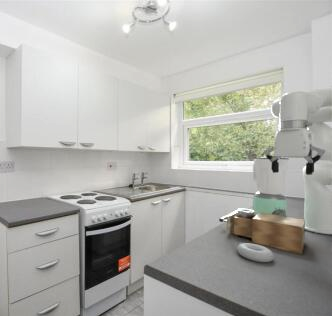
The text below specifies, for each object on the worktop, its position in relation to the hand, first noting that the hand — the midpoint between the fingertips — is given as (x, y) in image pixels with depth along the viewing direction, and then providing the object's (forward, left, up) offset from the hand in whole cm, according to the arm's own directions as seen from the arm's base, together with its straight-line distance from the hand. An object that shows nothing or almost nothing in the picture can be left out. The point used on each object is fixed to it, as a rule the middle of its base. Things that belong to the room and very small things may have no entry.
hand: (291, 173), depth 80 cm
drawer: (-6, -16, -28) cm, 32 cm away
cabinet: (-6, -4, -28) cm, 29 cm away
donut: (+17, -7, -29) cm, 34 cm away
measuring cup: (-6, -15, -26) cm, 31 cm away
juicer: (-28, -10, -28) cm, 42 cm away
